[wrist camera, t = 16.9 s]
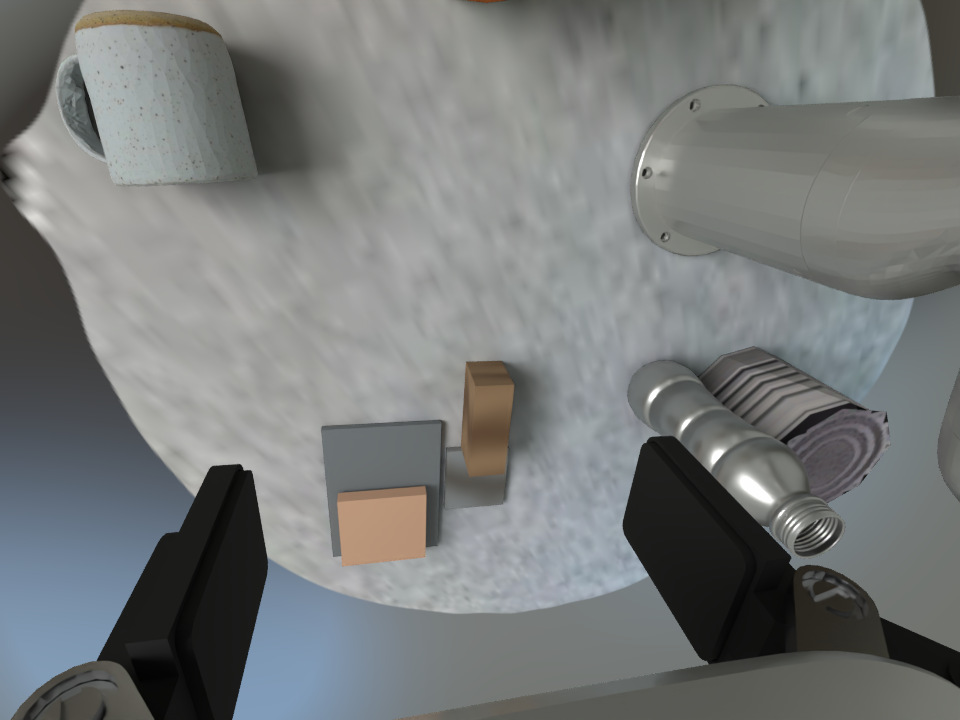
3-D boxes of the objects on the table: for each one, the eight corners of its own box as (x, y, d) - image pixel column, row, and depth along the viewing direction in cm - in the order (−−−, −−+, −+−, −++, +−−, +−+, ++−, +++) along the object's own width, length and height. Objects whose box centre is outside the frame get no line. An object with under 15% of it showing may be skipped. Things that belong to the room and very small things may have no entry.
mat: (440, 419, 44) (441, 423, 43) (436, 541, 50) (437, 545, 50) (321, 426, 42) (321, 430, 41) (333, 552, 48) (333, 556, 48)
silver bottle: (642, 343, 45) (816, 484, 27) (695, 365, 47) (888, 508, 29) (607, 400, 47) (748, 566, 29) (659, 418, 49) (820, 582, 31)
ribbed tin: (801, 347, 49) (919, 408, 38) (761, 440, 53) (856, 518, 43) (703, 343, 46) (801, 408, 36) (670, 442, 51) (747, 525, 40)
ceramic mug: (238, 31, 29) (193, 2, 22) (270, 174, 33) (241, 187, 26) (45, 36, 28) (-65, 7, 21) (102, 186, 31) (23, 202, 25)
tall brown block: (450, 361, 42) (458, 386, 38) (516, 360, 43) (531, 384, 39) (443, 504, 48) (450, 538, 45) (501, 499, 50) (512, 532, 46)
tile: (426, 494, 45) (425, 557, 48) (424, 483, 46) (423, 544, 49) (337, 502, 43) (342, 566, 46) (338, 490, 44) (343, 553, 48)
